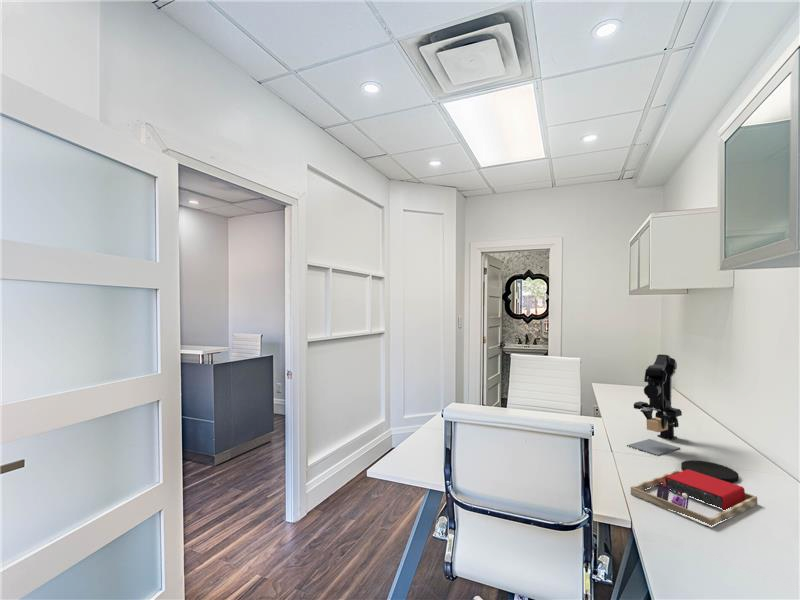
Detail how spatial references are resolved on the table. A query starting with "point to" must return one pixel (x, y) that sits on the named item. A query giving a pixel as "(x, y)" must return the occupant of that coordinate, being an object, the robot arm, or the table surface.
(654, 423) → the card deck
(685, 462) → the wireless charger
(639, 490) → the organizer frame
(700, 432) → the table surface
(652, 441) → the mat
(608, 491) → the table surface
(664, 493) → the game card
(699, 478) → the red device housing
